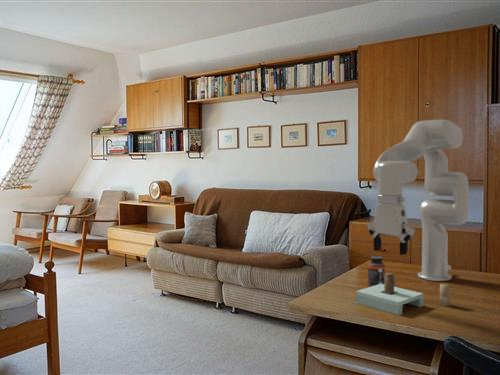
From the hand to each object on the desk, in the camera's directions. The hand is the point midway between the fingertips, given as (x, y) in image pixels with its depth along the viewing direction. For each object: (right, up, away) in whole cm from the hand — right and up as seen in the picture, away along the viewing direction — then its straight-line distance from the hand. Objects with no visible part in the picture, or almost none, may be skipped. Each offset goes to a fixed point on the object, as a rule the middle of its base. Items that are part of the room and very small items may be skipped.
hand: (390, 252), depth 146 cm
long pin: (0, -17, +1) cm, 17 cm away
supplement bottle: (+1, -16, +21) cm, 27 cm away
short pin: (+5, -16, +15) cm, 23 cm away
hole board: (0, -17, 0) cm, 17 cm away
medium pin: (+18, -17, -1) cm, 24 cm away
